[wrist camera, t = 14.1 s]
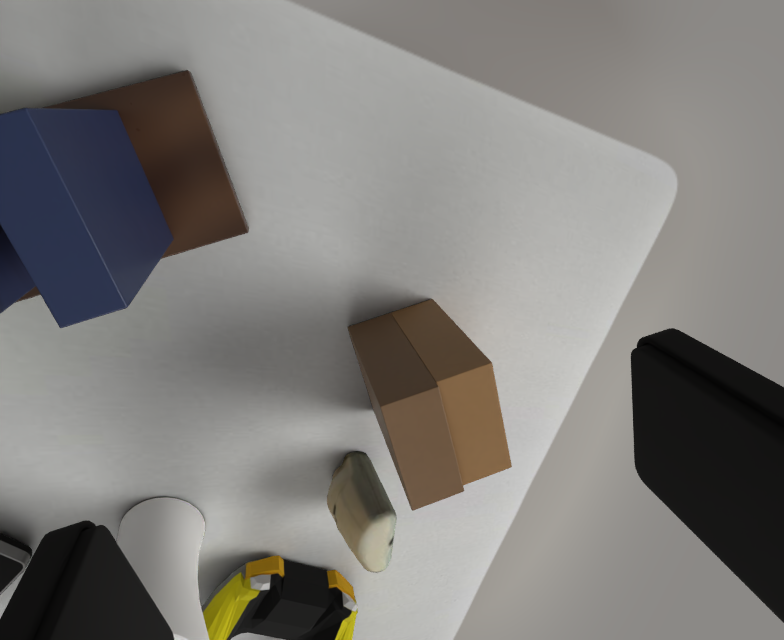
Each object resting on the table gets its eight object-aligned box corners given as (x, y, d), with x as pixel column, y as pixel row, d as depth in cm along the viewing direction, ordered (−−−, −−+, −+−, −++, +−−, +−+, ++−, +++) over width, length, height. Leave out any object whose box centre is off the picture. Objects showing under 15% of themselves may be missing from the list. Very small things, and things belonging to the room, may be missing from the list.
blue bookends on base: (-126, 153, 29) (-428, 184, 16) (190, 71, 31) (142, 41, 18) (-24, 310, 33) (-202, 434, 20) (249, 228, 35) (243, 294, 23)
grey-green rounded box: (396, 484, 46) (422, 553, 39) (346, 514, 46) (363, 589, 39) (365, 441, 44) (386, 505, 37) (312, 473, 44) (323, 544, 37)
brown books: (347, 326, 40) (379, 406, 29) (432, 298, 40) (495, 366, 30) (373, 410, 43) (412, 511, 32) (452, 383, 44) (515, 472, 33)
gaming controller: (328, 649, 52) (377, 575, 50) (335, 706, 47) (390, 626, 45) (180, 621, 46) (228, 537, 44) (170, 683, 41) (224, 591, 39)
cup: (220, 465, 41) (204, 611, 29) (238, 563, 45) (230, 729, 33) (76, 488, 39) (-6, 657, 27) (108, 589, 43) (49, 777, 31)
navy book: (68, 122, 30) (-57, 128, 18) (117, 109, 30) (26, 107, 18) (130, 252, 33) (59, 329, 21) (174, 239, 33) (128, 308, 22)
